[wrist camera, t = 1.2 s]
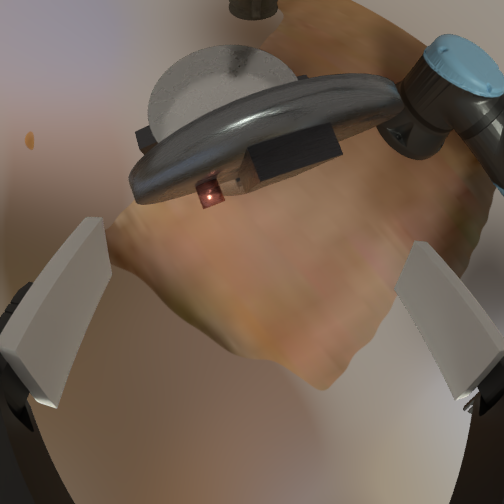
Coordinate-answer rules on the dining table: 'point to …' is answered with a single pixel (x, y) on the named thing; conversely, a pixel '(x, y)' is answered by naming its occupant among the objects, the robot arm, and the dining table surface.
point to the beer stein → (253, 9)
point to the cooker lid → (264, 137)
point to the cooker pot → (209, 91)
